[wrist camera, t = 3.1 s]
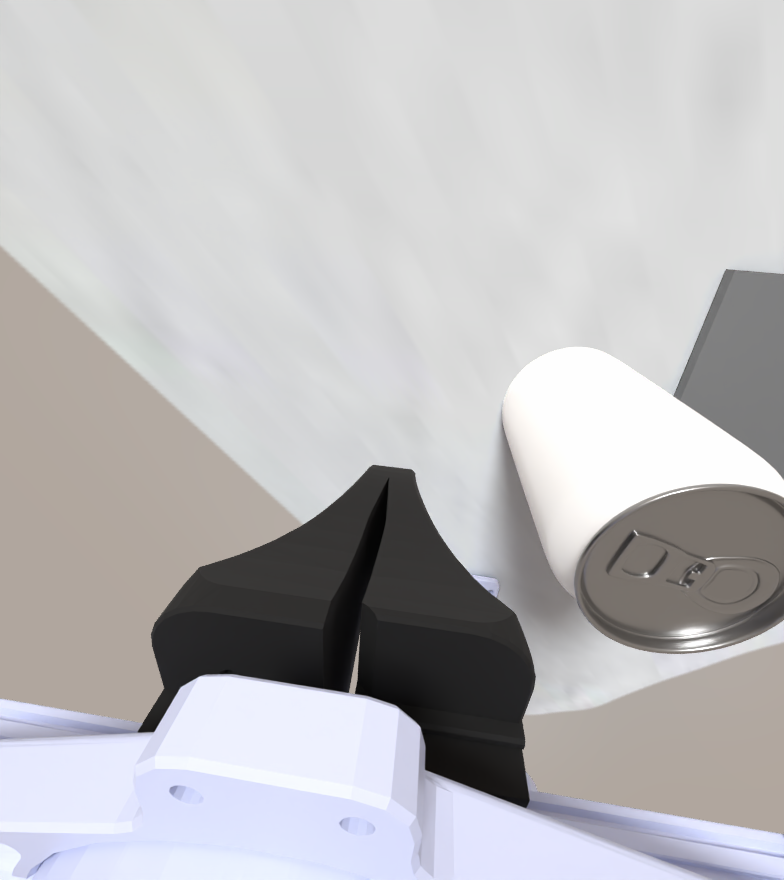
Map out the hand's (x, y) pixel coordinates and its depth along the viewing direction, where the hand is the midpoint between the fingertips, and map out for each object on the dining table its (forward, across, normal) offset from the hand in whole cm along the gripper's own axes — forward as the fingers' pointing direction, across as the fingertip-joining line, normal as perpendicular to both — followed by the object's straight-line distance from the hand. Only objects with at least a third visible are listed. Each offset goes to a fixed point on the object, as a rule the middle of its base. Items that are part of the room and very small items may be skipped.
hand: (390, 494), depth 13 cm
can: (+10, -8, 0) cm, 13 cm away
